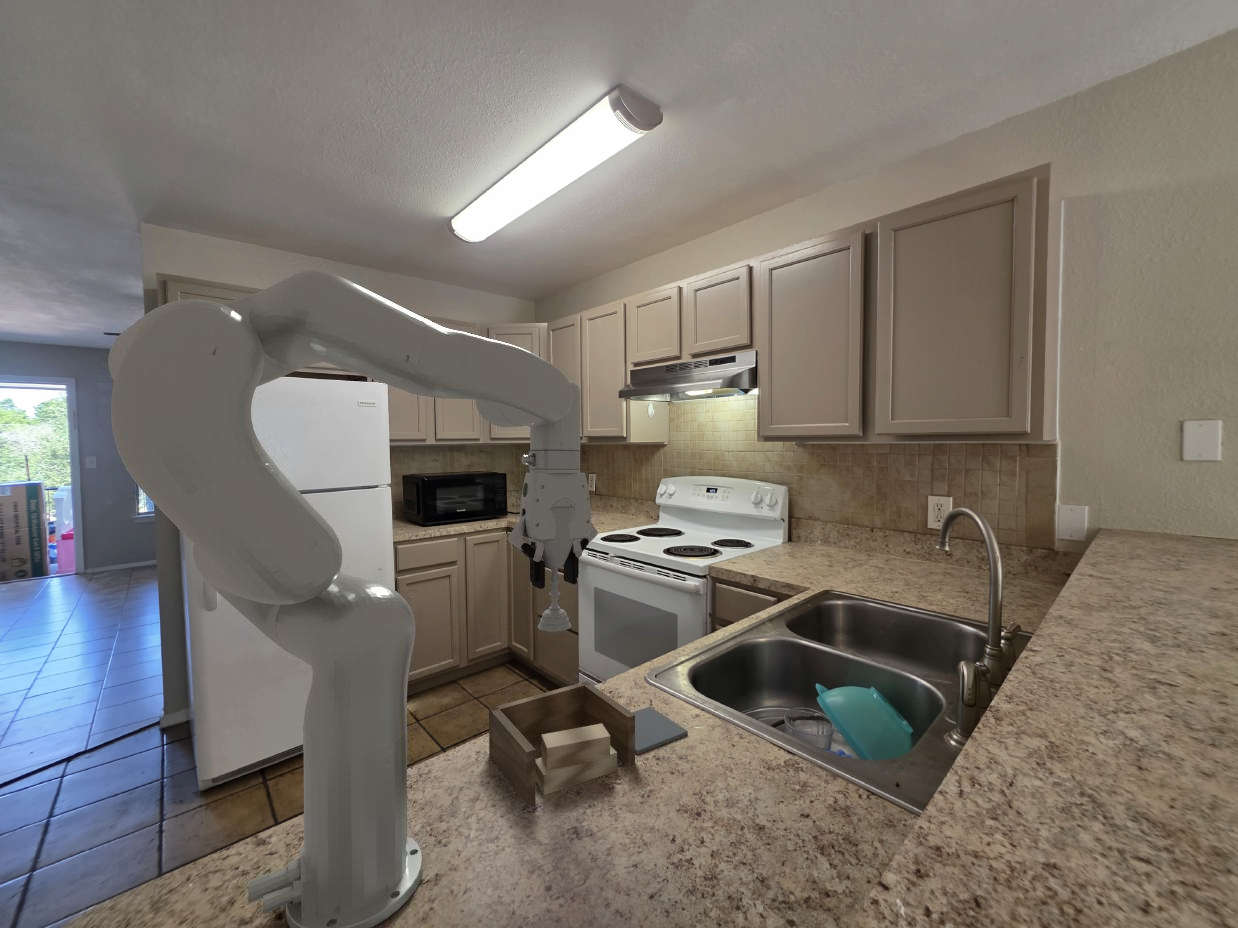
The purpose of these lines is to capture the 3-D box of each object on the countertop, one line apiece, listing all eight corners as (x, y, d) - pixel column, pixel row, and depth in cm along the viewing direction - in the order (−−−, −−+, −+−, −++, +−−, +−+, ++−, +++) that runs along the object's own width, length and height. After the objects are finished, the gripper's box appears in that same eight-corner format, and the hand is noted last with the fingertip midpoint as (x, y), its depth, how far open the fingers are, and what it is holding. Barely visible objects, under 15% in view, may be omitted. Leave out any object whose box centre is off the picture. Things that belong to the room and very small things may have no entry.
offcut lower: (544, 797, 67) (544, 775, 67) (534, 780, 71) (533, 759, 71) (617, 773, 73) (617, 752, 73) (604, 758, 76) (604, 738, 76)
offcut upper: (546, 770, 68) (547, 748, 68) (541, 755, 72) (541, 734, 72) (610, 757, 71) (610, 735, 71) (601, 743, 75) (602, 723, 75)
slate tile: (637, 754, 76) (637, 750, 76) (602, 725, 85) (602, 722, 85) (687, 734, 82) (687, 730, 82) (650, 709, 90) (650, 706, 90)
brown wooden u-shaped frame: (526, 806, 65) (526, 752, 65) (489, 754, 77) (489, 708, 77) (635, 762, 74) (635, 714, 74) (586, 722, 86) (586, 680, 86)
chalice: (580, 632, 74) (580, 507, 74) (533, 635, 72) (533, 508, 72) (573, 617, 81) (573, 504, 81) (530, 620, 79) (530, 504, 79)
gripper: (511, 462, 69) (510, 597, 69) (615, 463, 78) (615, 582, 78) (491, 463, 75) (491, 586, 75) (590, 463, 84) (590, 573, 84)
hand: (554, 583), depth 76 cm, fingers closed on chalice, 4 cm apart
